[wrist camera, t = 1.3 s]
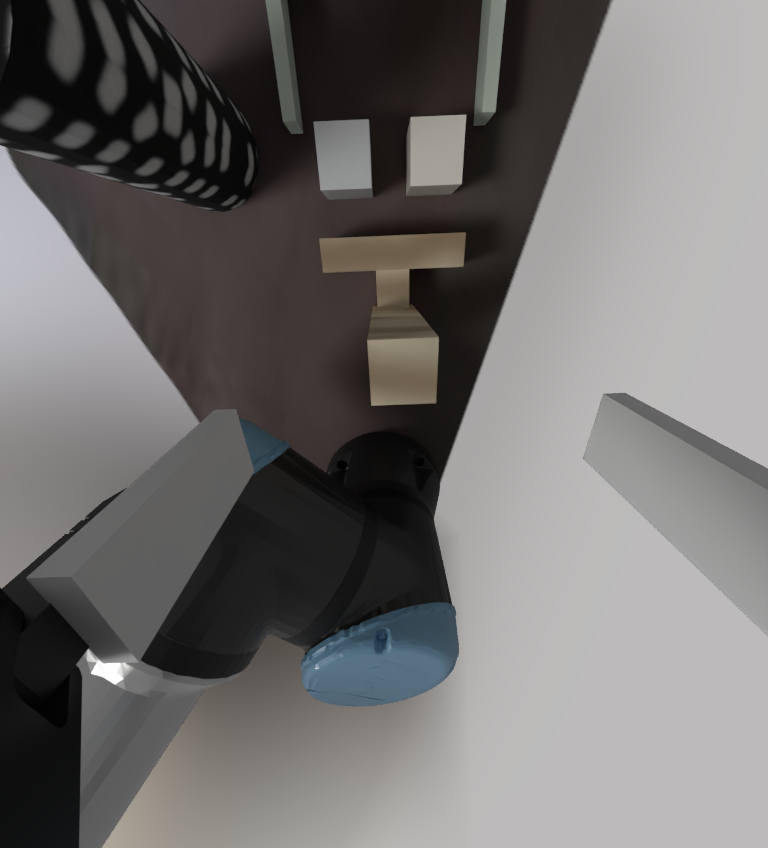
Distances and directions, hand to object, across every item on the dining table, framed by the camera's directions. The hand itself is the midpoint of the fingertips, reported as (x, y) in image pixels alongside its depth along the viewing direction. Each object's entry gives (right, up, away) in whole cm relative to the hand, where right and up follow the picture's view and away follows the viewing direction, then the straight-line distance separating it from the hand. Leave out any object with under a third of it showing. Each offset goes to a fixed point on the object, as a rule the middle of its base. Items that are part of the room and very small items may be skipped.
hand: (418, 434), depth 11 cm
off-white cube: (+3, +23, +15) cm, 27 cm away
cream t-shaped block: (0, +13, +19) cm, 24 cm away
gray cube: (-4, +22, +15) cm, 27 cm away
